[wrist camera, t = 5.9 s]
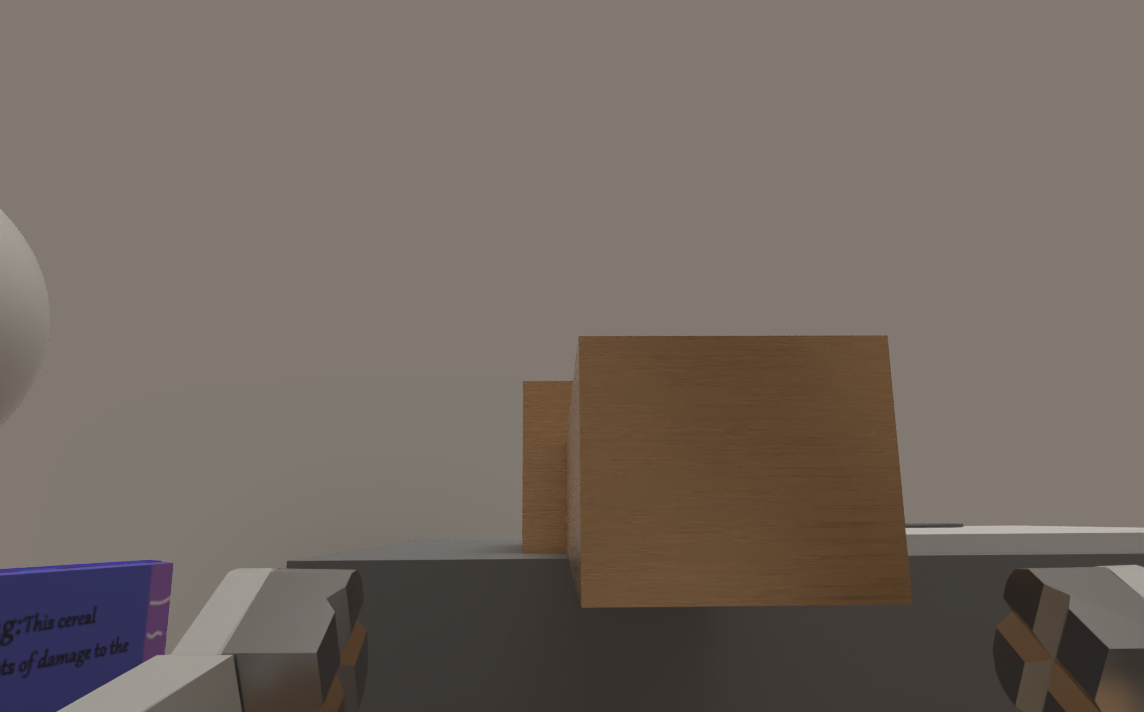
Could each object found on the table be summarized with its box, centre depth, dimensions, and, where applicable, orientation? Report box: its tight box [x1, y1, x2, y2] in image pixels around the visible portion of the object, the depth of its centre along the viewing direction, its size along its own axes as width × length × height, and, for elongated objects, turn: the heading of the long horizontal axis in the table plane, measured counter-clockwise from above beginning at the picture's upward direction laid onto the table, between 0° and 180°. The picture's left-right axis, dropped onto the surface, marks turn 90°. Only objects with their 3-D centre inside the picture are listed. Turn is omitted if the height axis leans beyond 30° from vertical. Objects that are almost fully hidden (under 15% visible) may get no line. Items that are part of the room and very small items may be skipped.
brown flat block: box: [522, 336, 913, 608], centre depth 16 cm, size 5×17×5 cm, turn 1°
